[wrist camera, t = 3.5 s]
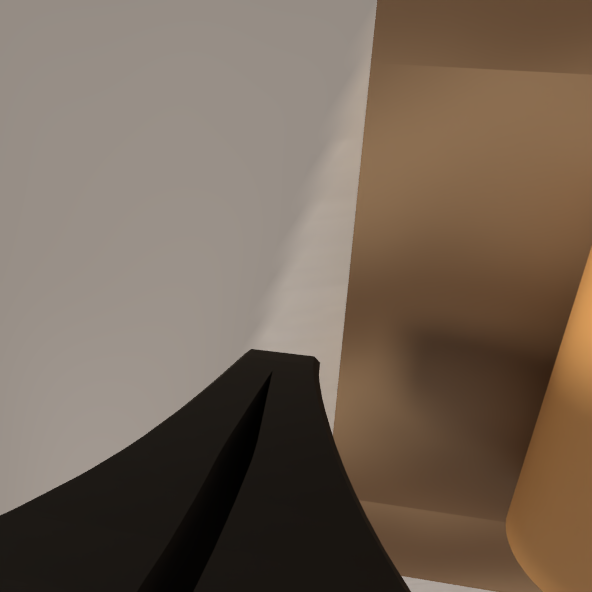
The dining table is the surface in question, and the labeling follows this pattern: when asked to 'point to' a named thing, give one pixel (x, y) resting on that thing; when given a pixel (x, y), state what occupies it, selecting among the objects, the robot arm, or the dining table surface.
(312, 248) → the dining table surface
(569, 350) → the roller
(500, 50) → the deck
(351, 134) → the dining table surface
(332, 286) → the dining table surface
